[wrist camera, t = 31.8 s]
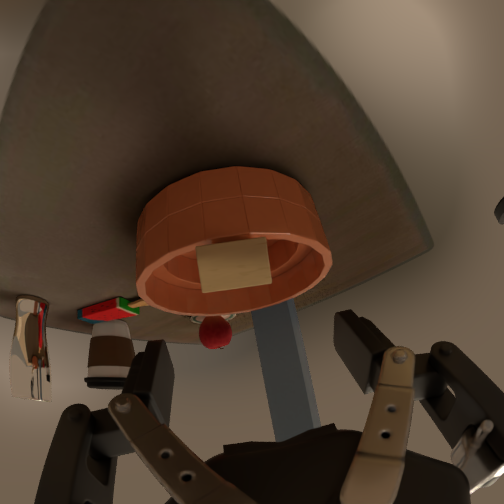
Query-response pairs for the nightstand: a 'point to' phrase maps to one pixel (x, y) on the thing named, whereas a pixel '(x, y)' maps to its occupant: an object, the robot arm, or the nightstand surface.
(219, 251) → the stick
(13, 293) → the nightstand surface
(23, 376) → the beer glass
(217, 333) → the apple
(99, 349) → the coffee cup
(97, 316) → the popsicle
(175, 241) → the bowl
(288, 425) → the stand
